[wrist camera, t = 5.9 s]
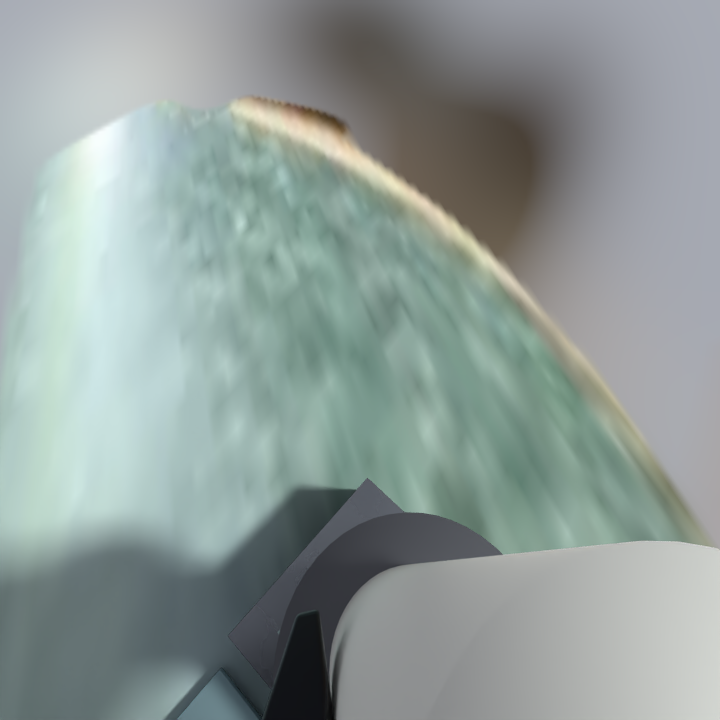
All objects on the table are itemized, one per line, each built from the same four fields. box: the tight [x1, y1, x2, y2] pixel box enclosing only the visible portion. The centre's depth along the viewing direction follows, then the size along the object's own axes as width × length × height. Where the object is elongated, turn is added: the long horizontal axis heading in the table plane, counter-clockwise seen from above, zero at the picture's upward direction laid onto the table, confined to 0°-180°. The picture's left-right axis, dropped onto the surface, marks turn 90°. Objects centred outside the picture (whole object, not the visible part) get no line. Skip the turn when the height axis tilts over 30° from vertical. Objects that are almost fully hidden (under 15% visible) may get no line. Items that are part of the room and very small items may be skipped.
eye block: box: [228, 478, 404, 690], centre depth 17 cm, size 8×8×3 cm
